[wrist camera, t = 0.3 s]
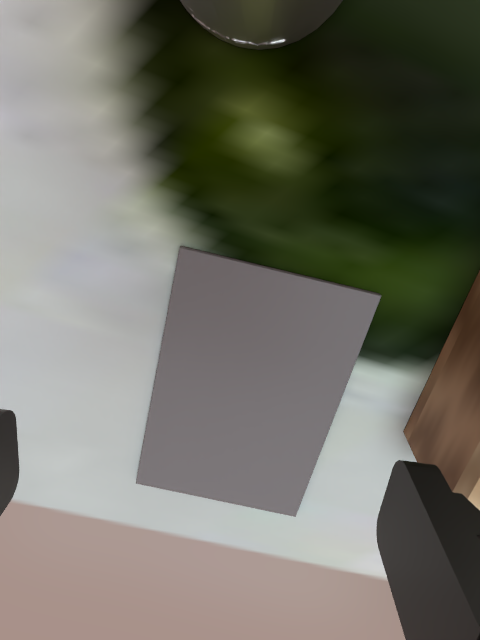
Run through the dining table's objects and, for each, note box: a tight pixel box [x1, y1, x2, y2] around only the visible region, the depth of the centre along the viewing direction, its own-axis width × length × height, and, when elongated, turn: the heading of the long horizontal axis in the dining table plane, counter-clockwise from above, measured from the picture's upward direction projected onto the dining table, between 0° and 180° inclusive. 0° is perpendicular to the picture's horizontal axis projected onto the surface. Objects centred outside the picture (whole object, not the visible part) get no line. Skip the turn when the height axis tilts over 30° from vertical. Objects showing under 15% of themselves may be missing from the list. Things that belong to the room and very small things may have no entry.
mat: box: [136, 246, 381, 517], centre depth 30 cm, size 18×12×1 cm, turn 166°
